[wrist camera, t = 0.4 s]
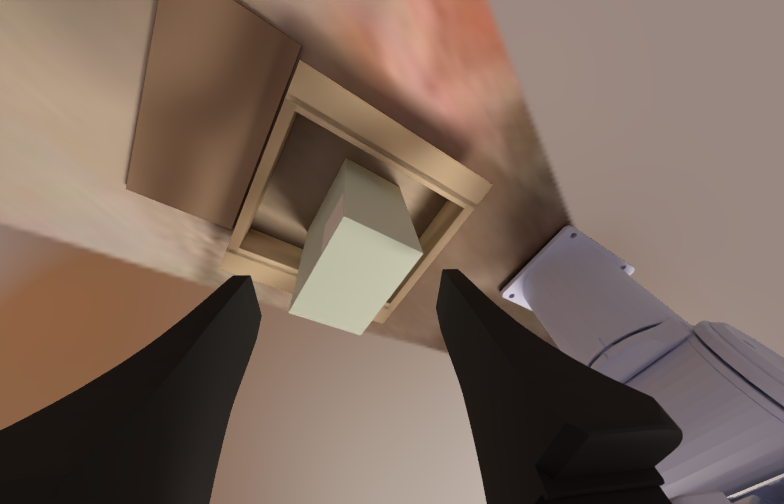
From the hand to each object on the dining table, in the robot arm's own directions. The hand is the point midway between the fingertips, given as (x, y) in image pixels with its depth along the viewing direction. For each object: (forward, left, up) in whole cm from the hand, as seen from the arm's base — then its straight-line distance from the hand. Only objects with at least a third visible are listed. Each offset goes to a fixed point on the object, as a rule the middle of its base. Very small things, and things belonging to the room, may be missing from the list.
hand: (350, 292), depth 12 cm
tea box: (-1, +1, -10) cm, 10 cm away
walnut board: (+9, 0, -10) cm, 13 cm away
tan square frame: (-1, +1, -10) cm, 10 cm away
